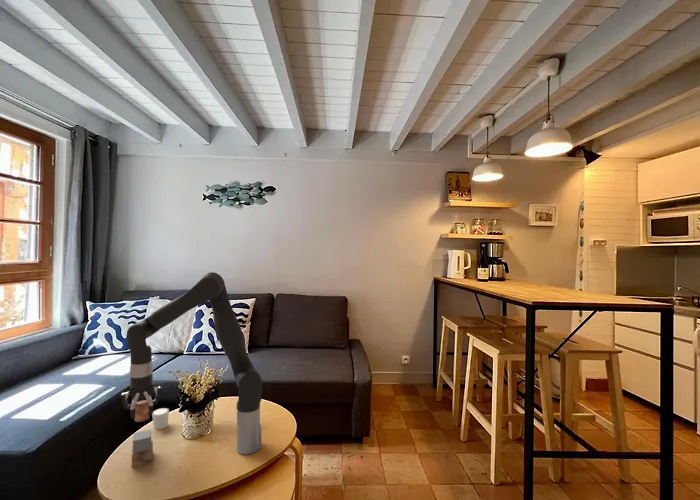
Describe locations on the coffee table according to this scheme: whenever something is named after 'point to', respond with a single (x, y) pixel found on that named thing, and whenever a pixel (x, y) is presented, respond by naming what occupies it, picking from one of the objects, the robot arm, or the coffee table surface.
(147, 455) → the tower base
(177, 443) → the coffee table surface
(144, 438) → the tower top
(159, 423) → the white cylinder
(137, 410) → the brown rounded knob
